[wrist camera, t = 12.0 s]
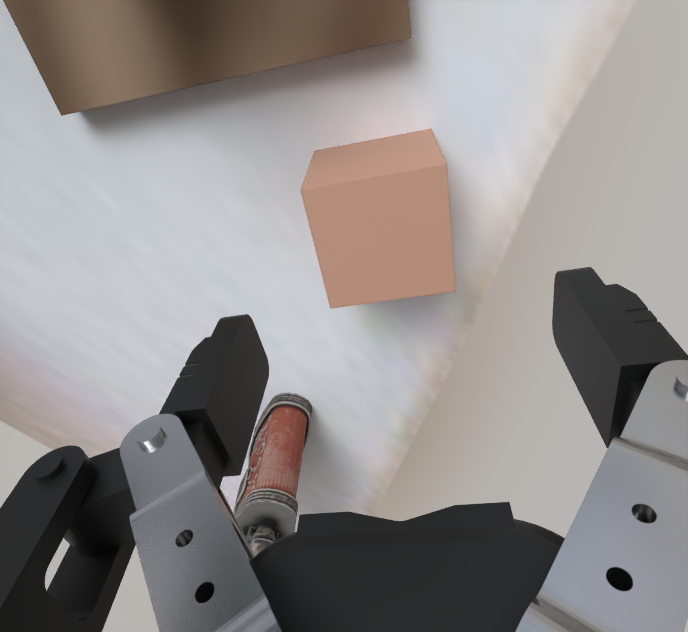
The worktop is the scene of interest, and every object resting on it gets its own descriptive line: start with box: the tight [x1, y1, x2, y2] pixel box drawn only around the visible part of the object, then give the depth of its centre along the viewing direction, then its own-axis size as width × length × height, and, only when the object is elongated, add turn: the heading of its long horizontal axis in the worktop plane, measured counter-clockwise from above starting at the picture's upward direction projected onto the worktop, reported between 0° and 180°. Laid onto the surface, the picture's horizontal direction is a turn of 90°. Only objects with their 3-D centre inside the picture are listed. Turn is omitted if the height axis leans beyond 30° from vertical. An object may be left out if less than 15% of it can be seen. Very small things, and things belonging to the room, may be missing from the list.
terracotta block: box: [300, 129, 456, 308], centre depth 19 cm, size 5×5×5 cm
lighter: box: [233, 393, 312, 556], centre depth 27 cm, size 8×3×10 cm, turn 161°
